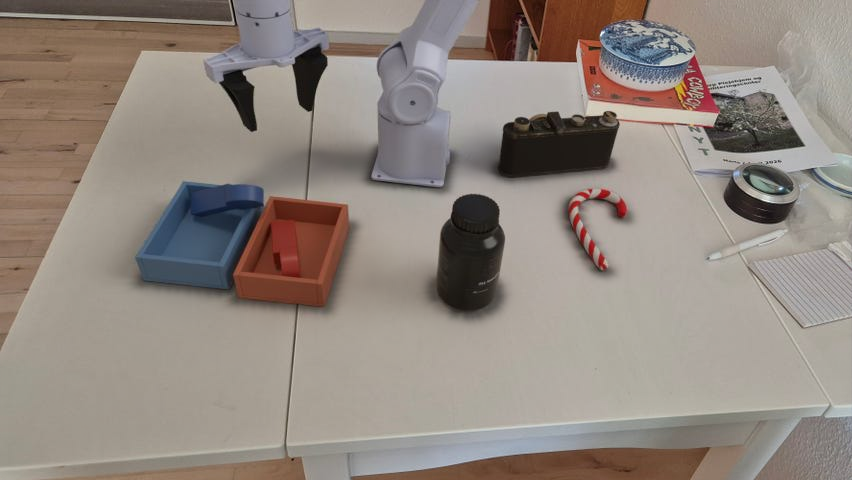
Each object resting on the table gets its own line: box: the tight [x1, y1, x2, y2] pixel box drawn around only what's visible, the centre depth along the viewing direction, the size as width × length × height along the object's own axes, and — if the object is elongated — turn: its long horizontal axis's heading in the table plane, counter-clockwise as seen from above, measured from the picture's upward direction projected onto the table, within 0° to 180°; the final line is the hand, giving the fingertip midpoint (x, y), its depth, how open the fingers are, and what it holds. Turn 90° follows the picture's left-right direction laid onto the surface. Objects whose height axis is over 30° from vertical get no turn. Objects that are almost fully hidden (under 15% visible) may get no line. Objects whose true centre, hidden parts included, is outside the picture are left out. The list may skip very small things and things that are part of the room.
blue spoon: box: [191, 183, 264, 217], centre depth 76 cm, size 10×4×3 cm
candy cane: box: [568, 188, 628, 271], centre depth 84 cm, size 8×1×15 cm
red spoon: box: [271, 220, 301, 278], centre depth 74 cm, size 10×4×3 cm
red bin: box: [233, 195, 350, 308], centre depth 75 cm, size 9×13×4 cm
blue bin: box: [134, 180, 265, 290], centre depth 75 cm, size 9×13×4 cm
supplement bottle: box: [435, 193, 506, 312], centre depth 71 cm, size 7×7×12 cm
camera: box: [497, 110, 621, 179], centre depth 92 cm, size 16×7×8 cm, turn 106°
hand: (278, 117), depth 81 cm, fingers open, 7 cm apart
